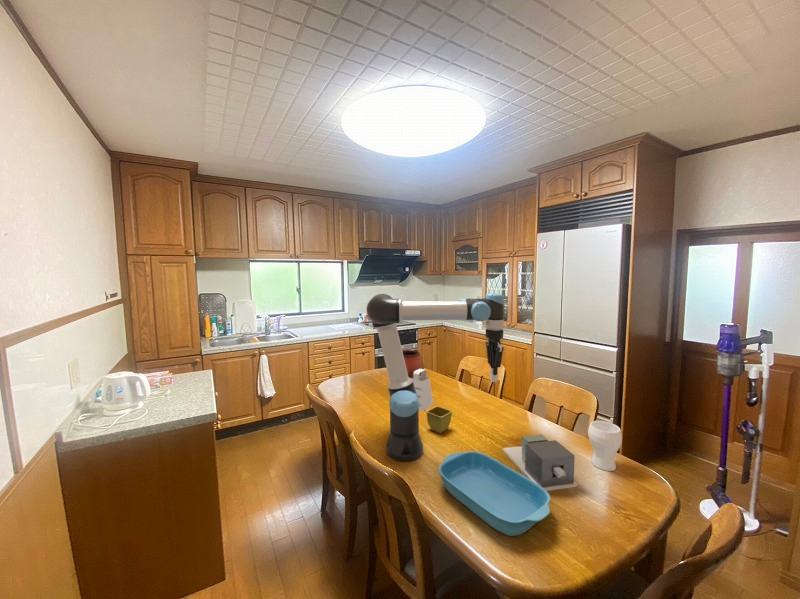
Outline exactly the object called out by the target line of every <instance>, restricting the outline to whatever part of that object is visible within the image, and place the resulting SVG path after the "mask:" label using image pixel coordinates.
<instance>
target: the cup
mask: <svg viewBox="0 0 800 599" xmlns="http://www.w3.org/2000/svg"><path fill="white" fill-rule="evenodd" d="M587 432H588V434H587V435H588V439H589V442H590V444H591V446H592V450H593V451H592V452H593V454H592V458H591V464H592V465H593V466H594V467H596V468H598V469H599V470H601V471H607V472H612V471H615V470H616V469H617V465H616V459H615V458H616V453H617V452H618V451H619V449H620V447H621V445H622V443H623V441H622V440H623V434H622V431H621V428H620V427H619V426H618V425H617V424H614V423H612V422H609V421H604V420H594V421H593V420H592V421H591V422H590V424H589V427H588V429H587Z"/></svg>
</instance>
